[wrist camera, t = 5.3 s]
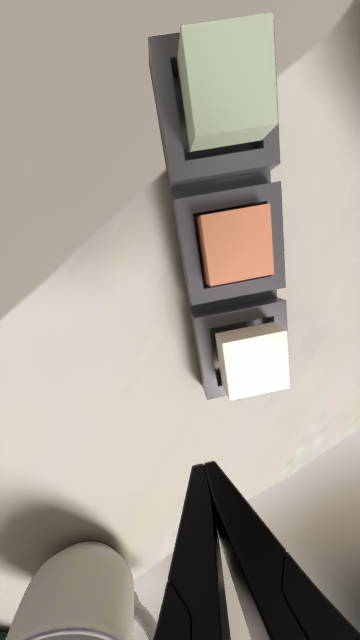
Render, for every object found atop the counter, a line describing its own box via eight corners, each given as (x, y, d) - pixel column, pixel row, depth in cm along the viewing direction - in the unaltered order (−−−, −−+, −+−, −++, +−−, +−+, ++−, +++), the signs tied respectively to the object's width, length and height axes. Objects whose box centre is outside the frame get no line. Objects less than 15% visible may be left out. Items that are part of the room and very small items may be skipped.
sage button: (177, 58, 13) (181, 24, 11) (256, 47, 13) (273, 12, 11) (190, 151, 14) (195, 136, 12) (261, 140, 14) (277, 123, 13)
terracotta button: (195, 219, 17) (200, 215, 15) (257, 208, 17) (270, 203, 15) (204, 282, 18) (210, 286, 16) (261, 271, 18) (274, 274, 16)
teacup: (16, 576, 26) (-43, 714, 18) (70, 509, 24) (30, 630, 16) (127, 610, 29) (117, 738, 21) (181, 554, 27) (191, 671, 20)
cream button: (215, 333, 18) (222, 343, 16) (272, 322, 18) (287, 330, 16) (222, 385, 19) (229, 400, 17) (276, 374, 19) (289, 387, 17)
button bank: (149, 64, 15) (148, 37, 13) (258, 48, 15) (273, 19, 13) (202, 386, 21) (207, 399, 20) (277, 370, 22) (289, 382, 20)
